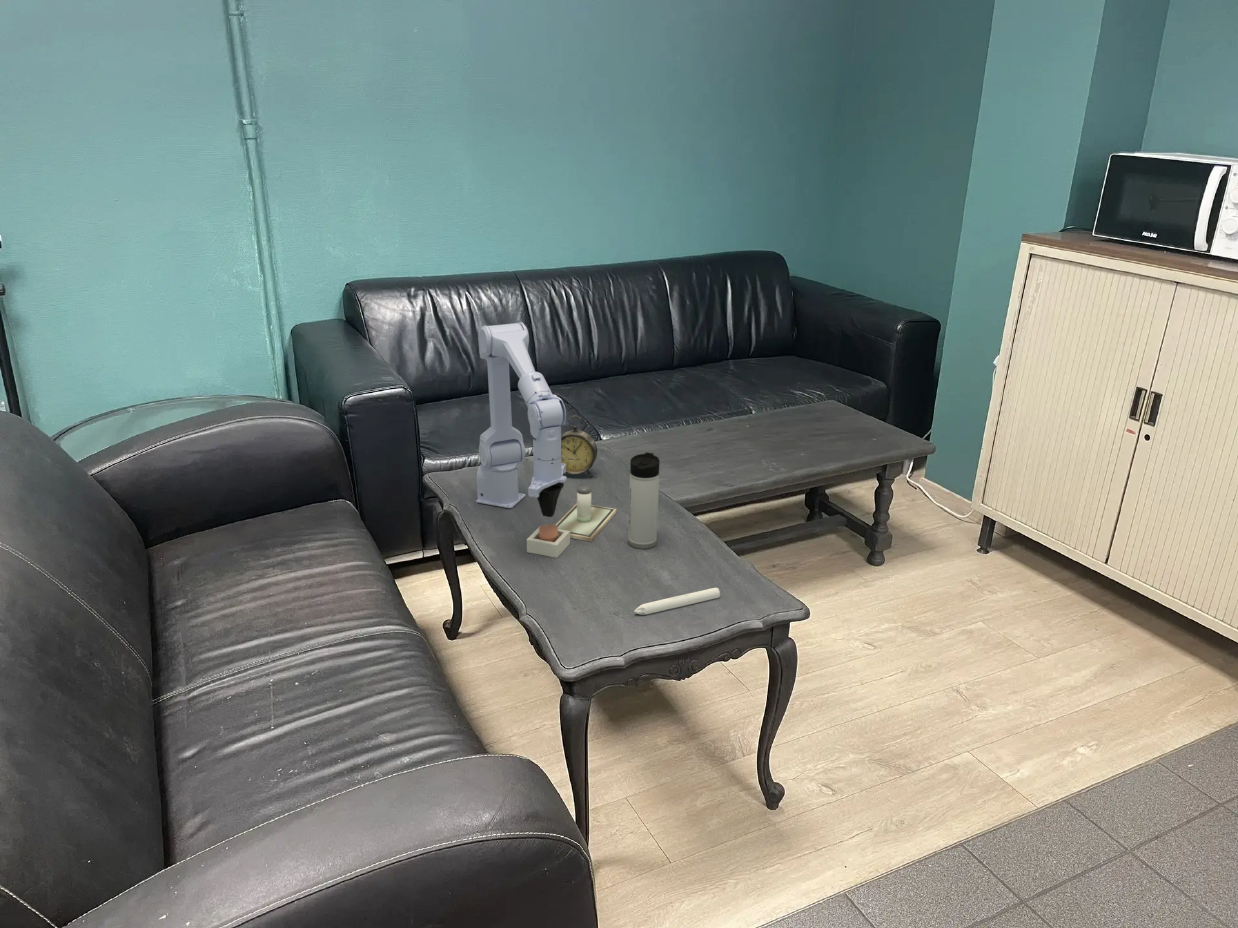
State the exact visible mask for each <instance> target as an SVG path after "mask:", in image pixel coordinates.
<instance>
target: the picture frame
mask: <svg viewBox="0 0 1238 928" xmlns="http://www.w3.org/2000/svg"><path fill="white" fill-rule="evenodd" d="M617 511H618V510H617V508H613V507H605V506H600V505H593V504H591V521H590V522H586V523H582V522H579V521H578V520H577V502H576V503H575V504H574V505H573V506H572V507H571V508H570V509H569V510H568V511H567V512H566V513H565V514H564V515H563V517H561V518H560V520H559V521H557V522H556V523H555V525H556V526H557V527H558V529H561V530H566V531H570V539H575V540H580V541H585V542H592V541H594V539H595V538H596V537H597V536H598V535H599V533H600V532H601V531H602V530H603V529H604V528H605V527H606V525H607V524H608V523H609V522H610V520H612V519H613V517H614V516H615V515H616V513H617Z"/></svg>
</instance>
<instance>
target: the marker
mask: <svg viewBox="0 0 1238 928" xmlns="http://www.w3.org/2000/svg"><path fill="white" fill-rule="evenodd" d="M720 597H721V591H720V589H719V588H718V587H713V588H711V587H710V588H708V589H707V588H706V589H704V590H698V591H693V592H690V593H684V594H681V595H675V596H671V597H667V598H664V599H663V598H662V599H658V600H655V601H650V602H645V603H643V604H641V605H639V606H638V607H637V608H635V609H634V611H633V612H634V613H635V614H637V615H642V616H643V615H644V616H645V615H650V614H655V613H659V612H664V611H667V610H672V609H676V608H680V607H685V606H689V605H693V604H697V603H703V602H707V601H711V600H715V599H719V598H720Z"/></svg>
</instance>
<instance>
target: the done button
mask: <svg viewBox="0 0 1238 928" xmlns="http://www.w3.org/2000/svg"><path fill="white" fill-rule="evenodd" d="M538 528H539V540H544V541H550V542H555V541H556V540H557V539H558V527H557V526H556V524H552V523H545V524H541V525H539V527H538Z"/></svg>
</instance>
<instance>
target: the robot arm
mask: <svg viewBox="0 0 1238 928" xmlns="http://www.w3.org/2000/svg"><path fill="white" fill-rule="evenodd" d="M529 335H530V334H529V330H528V328H527V326H526V325H525V324H524V322H522V321H520V322H515V323H506V324H495V325H482V326H481V328H480V329H479V332H478V338H477V340H478V351H479V358H480V359H482V360H485V361H486V365H487V379H488V400H489V414H490V416H489V418H490V426H489V428H487V429H486V430H485V431H484V432H482V433H481V434H480V436H479V447H478V457H479V460H480V463H481V464H480V465H479V467H478V468H477V473H476V490H477V491H476V493H477V495H476V496H477V499H476V500H475V501H476V503H477V504H482V505H489V506H493V507H494V506H495V507H500V508H505V509H513V507H515V506H516V505H517V504H518V503H519V502H521V501H522V500H523V499H524V498H525V497H526V494H525V493H519V492H520V491H519V467H521V463H523V462H524V461H525V460H524V459H525V458H526V447H525V443H524V438H523V434H522V433H521V431H520V430H519V429H517V428H515V427H514V426H513V421H512V420H513V419H512V401H511V399H512V398H511V382H510V381H511V380H510V365H511V367H512V369H513V370H514V372H515V374H516V375H517V377H518V378H519V380H518V382H517V388H518V390H519V392H520V394H521V397H522V398H523V400H524V403H525V405H526V407H527V419H528V423H529V427H530V428H529V429H530V430H529V432H530V435H531V436H532V447H533V449H532V451H533V453H532V454H533V458H532V459H533V474H532V478H531V482H530V486H528V490H527V492H528V497H530V498H536V499H537V502H538V504H539V508H540V510H541V511H540V512H541V514H542V517H548V518H552V517H554V515H555V512H556V508H557V503H558V499H559V496H560V493H561V491H562V489H563V488H564V485H565V482H566V481H567V479H568V478H567V476H566V475H564V474H566V464H563V463H561V435H562V426H564V425H565V424H566V420H567V410H566V407H565V404H564V401H563V399H562V398H560V397H559V396H558V395H556V394H553V393H552V391H551V388H550V387H549V385H548V382H547V381H546V379H545V376H544V375H543V374H542V373H541V372H538V371H536V370H535V367H534V365H533V363H532V362H533V361H532V359H531V357H530V354H529V351H528V349H529V344H530V336H529Z"/></svg>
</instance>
